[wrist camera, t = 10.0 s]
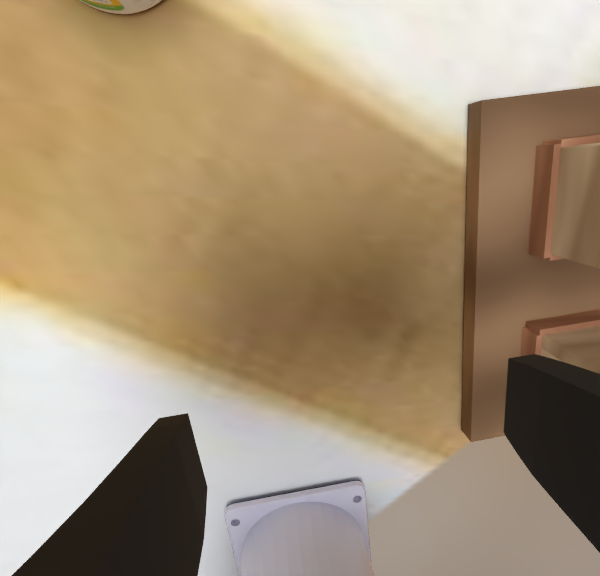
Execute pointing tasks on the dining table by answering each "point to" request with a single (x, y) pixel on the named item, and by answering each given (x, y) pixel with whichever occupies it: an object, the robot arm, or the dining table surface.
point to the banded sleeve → (567, 201)
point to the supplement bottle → (121, 5)
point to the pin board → (513, 243)
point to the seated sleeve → (565, 339)
